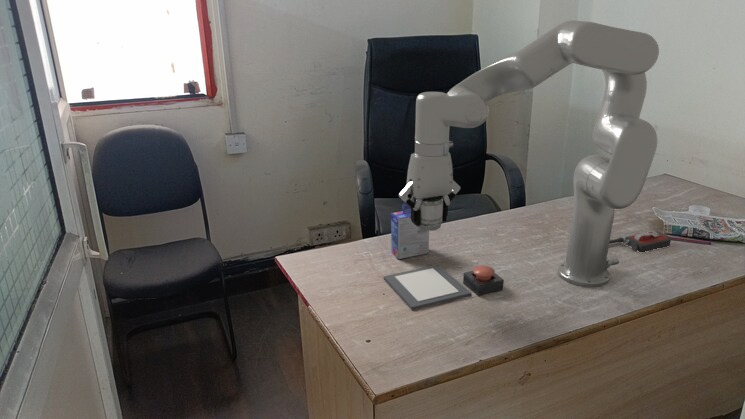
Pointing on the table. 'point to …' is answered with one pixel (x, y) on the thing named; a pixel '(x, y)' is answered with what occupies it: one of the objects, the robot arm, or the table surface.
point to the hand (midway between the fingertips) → (429, 221)
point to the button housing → (483, 284)
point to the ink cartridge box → (407, 235)
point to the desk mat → (426, 287)
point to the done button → (483, 273)
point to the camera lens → (431, 213)
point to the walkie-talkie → (644, 240)
